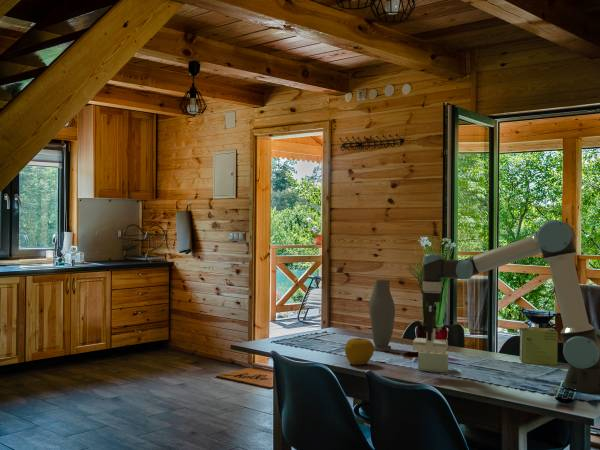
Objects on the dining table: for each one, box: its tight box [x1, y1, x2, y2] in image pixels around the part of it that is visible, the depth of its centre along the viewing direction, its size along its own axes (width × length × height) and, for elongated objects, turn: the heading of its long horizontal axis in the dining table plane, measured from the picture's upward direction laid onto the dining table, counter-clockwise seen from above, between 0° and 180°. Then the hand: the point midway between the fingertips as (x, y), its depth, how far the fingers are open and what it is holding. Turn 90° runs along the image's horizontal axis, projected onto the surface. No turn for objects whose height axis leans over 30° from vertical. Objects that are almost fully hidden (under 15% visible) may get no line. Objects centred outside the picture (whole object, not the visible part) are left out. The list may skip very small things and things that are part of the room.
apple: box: [344, 337, 375, 366], centre depth 281 cm, size 13×13×11 cm
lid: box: [412, 337, 449, 353], centre depth 259 cm, size 13×10×4 cm
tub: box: [417, 350, 449, 373], centre depth 273 cm, size 12×8×8 cm, turn 74°
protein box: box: [519, 326, 559, 366], centre depth 297 cm, size 10×15×16 cm
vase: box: [368, 279, 396, 352], centre depth 323 cm, size 13×13×35 cm
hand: (430, 346), depth 259 cm, fingers closed on lid, 10 cm apart
